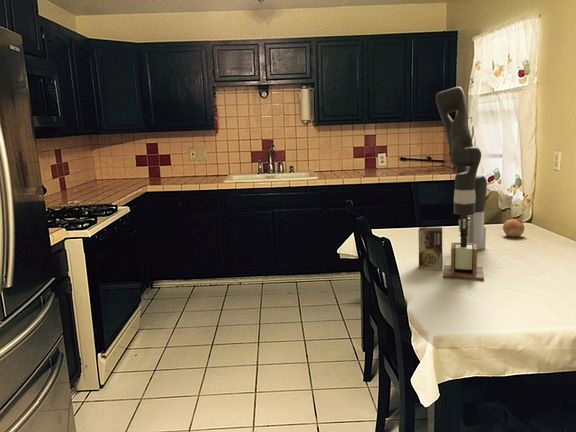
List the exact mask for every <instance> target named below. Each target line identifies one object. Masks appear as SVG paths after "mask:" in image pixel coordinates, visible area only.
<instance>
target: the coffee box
mask: <svg viewBox="0 0 576 432" xmlns="http://www.w3.org/2000/svg"><path fill="white" fill-rule="evenodd" d="M417 231H418V233H417V234H418V270H426V271H427V270H428V271H429V270H430V271H431V270H432V271H443V268H444V267H443V227H441V226H440V227H439V226H433V227H432V226H431V227H430V226H420V227H419V228H418V230H417Z"/></svg>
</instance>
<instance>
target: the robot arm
mask: <svg viewBox="0 0 576 432" xmlns="http://www.w3.org/2000/svg"><path fill="white" fill-rule="evenodd" d="M435 103H436V106H437V107H436V108H437V110H438V113H439V115H440V118H441V121H442V124H443V127H444V128H443V129H444V130H445V134H446V139H447V142H448V143H447V144H448V146H449V147H448V148H449V151H450V158H449V159H450V161H449V162H450V163H451V165H453V167H454V168H455V173H456V174H455V178H454V193H453V214H455V215H457V216H460V217H458V225H459V227H458V229H459V230H458V231H459V233H460V234H459V236H460V243H461V247H467V243H476V245H477V251H481V250H483V249H485V248H486V241H487V240H486V238H487V237H486V236H487V234H486V233H487V230H486V229H487V228H486V226H485V208H486V207H485V206H486V201H487V190H488V189H487V188H488V186H487V185H488V182H487V178H486V177H485V175H481V174H479V175H477V172H478V168H479V166H480V163H481V159H482V151H481V150H480V149H479V147H477V146H474V145H473V139H472V135H471V131H470V126H469V118H468V106H467V99H466V95H465V92H464V89H463V88H462V87H461V86H456V87H452V88H448V89H446V90H442V91H439V92H437V93H436V94H435ZM453 112H454V113H455V112H457V113H456V115H455V117H454V119H452V117H451V115H450V114H451V113H453Z"/></svg>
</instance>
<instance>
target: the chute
mask: <svg viewBox="0 0 576 432" xmlns="http://www.w3.org/2000/svg"><path fill="white" fill-rule="evenodd" d="M456 244H460V245H461V242H451V244H450V265H444V267H443V268H444V269H443V279H448V280H465V281H467V280H468V281H485V275H484V269H483V266H478V265H477V263H478V261H477V260H478V250H477V245H476V243H467V245H472V248H473V253H472V270H469V269H455V245H456Z"/></svg>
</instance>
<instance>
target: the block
mask: <svg viewBox="0 0 576 432" xmlns="http://www.w3.org/2000/svg"><path fill="white" fill-rule="evenodd" d="M472 253H473V248H472V245H467V247H461V245H460V244H456V245H455V269H469V270H472Z"/></svg>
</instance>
